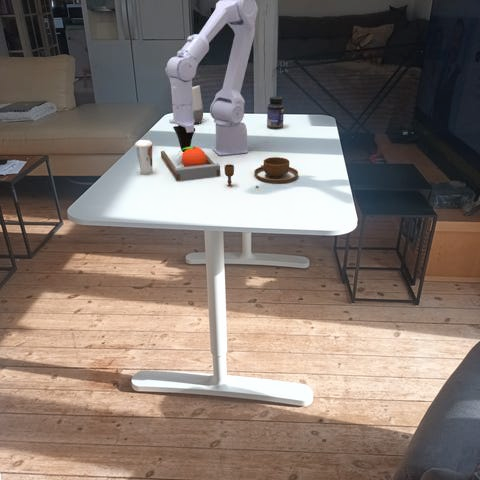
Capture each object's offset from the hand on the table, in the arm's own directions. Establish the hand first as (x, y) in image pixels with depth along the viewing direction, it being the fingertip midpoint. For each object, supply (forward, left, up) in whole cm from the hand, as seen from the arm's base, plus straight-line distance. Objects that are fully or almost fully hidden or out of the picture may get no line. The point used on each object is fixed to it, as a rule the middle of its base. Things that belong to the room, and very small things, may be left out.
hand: (185, 151), depth 129 cm
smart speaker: (-14, -48, -4) cm, 50 cm away
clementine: (0, +8, -4) cm, 9 cm away
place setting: (-16, +19, -4) cm, 25 cm away
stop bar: (0, +14, -3) cm, 14 cm away
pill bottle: (-42, -30, -4) cm, 52 cm away
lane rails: (0, +4, -3) cm, 5 cm away
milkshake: (+12, +5, -4) cm, 14 cm away
